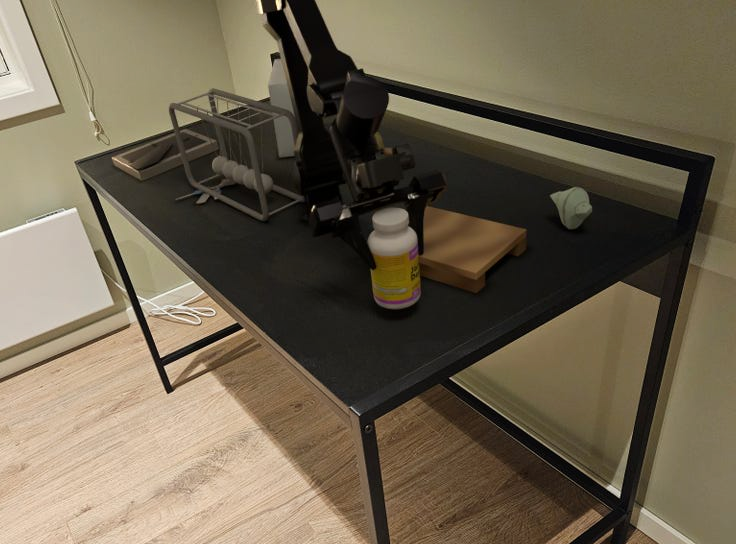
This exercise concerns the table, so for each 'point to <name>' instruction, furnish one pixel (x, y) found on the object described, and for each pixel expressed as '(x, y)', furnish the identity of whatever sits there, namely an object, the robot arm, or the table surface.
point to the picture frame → (163, 154)
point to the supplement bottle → (394, 259)
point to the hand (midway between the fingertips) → (398, 262)
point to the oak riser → (465, 247)
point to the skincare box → (282, 100)
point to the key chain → (205, 196)
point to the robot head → (572, 206)
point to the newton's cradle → (221, 163)
